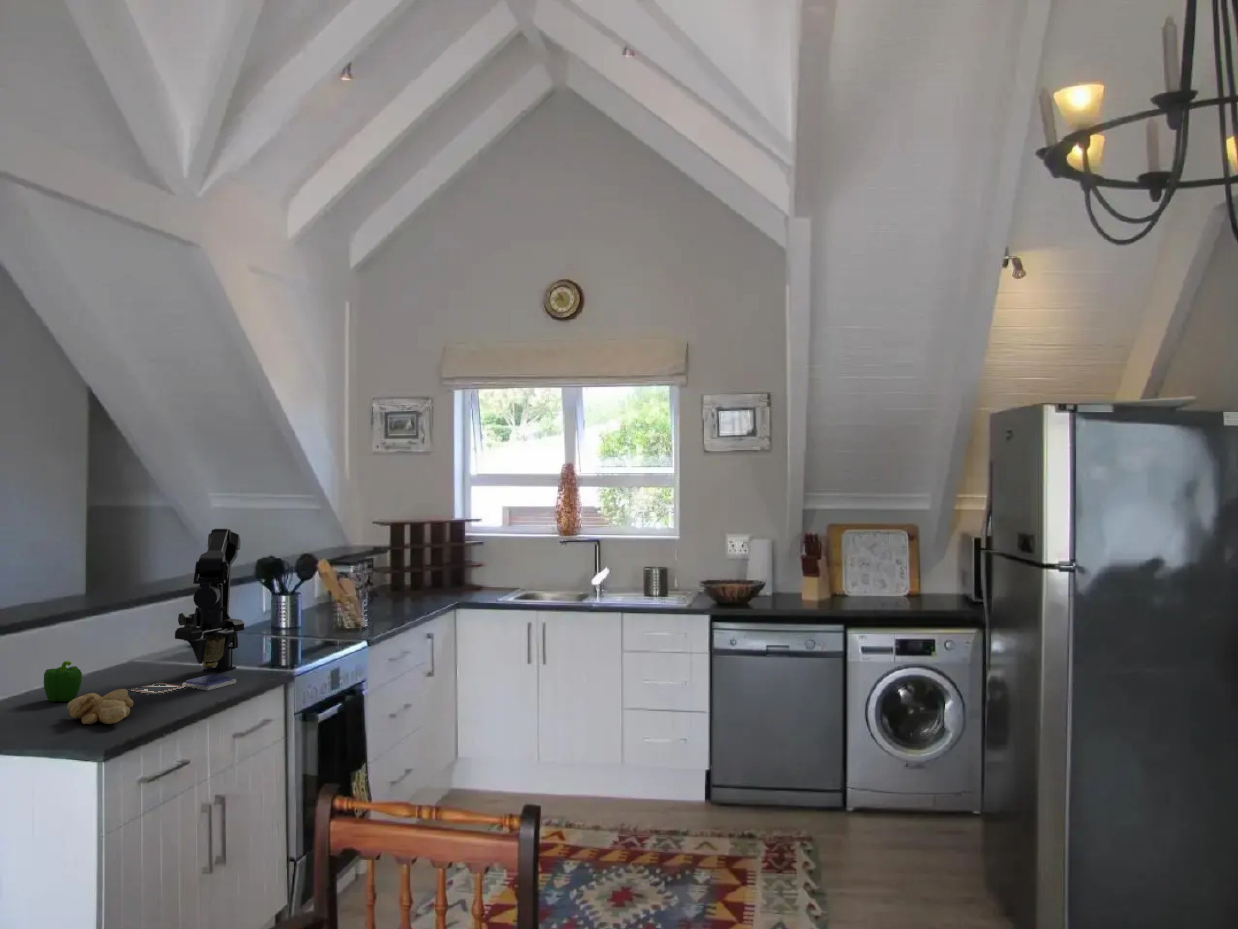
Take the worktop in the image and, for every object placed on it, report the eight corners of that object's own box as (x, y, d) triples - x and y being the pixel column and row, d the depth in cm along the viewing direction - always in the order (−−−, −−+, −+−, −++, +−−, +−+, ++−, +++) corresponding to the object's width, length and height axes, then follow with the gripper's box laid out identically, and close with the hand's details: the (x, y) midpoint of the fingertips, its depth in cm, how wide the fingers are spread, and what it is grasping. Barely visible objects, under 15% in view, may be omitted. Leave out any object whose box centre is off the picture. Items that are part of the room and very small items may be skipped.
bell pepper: (40, 699, 239) (41, 659, 239) (77, 694, 244) (78, 655, 244) (46, 706, 232) (47, 665, 232) (84, 701, 238) (85, 661, 238)
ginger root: (78, 706, 228) (86, 673, 228) (144, 721, 229) (152, 689, 229) (42, 726, 213) (51, 691, 213) (114, 743, 214) (123, 708, 214)
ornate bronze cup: (216, 663, 263) (216, 634, 262) (230, 667, 258) (230, 637, 258) (189, 667, 257) (190, 637, 257) (203, 671, 252) (203, 641, 252)
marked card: (159, 683, 257) (159, 682, 257) (186, 687, 253) (186, 686, 253) (127, 691, 249) (127, 689, 249) (155, 695, 245) (155, 694, 245)
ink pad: (211, 679, 263) (211, 673, 263) (236, 683, 260) (236, 677, 260) (182, 686, 255) (182, 680, 255) (207, 690, 251) (207, 684, 251)
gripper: (216, 596, 269) (215, 652, 269) (160, 605, 252) (159, 664, 252) (246, 600, 264) (245, 656, 264) (190, 609, 247) (189, 669, 248)
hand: (210, 661), depth 257 cm, fingers closed on ornate bronze cup, 6 cm apart
